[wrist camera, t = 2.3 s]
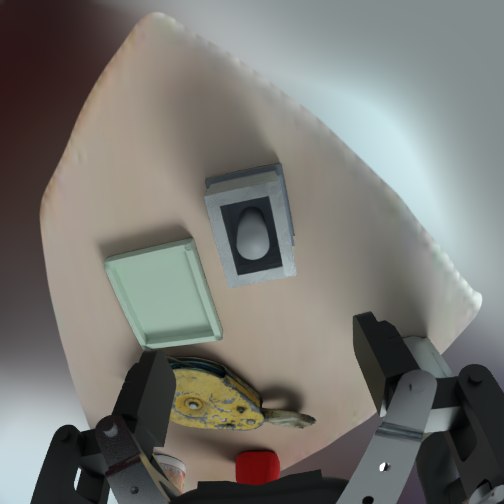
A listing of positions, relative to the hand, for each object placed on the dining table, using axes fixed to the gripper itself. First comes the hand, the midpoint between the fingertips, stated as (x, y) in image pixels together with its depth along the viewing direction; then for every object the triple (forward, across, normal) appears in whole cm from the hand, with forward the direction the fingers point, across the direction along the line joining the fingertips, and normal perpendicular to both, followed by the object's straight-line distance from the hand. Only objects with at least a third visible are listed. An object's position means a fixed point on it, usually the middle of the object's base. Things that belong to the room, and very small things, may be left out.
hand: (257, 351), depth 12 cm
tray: (+23, +13, +9) cm, 28 cm away
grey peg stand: (+23, 0, 0) cm, 23 cm away
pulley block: (+23, +10, +29) cm, 38 cm away
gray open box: (+18, 0, 0) cm, 18 cm away
